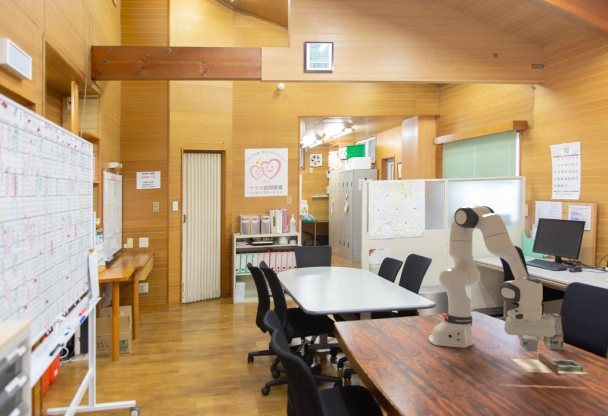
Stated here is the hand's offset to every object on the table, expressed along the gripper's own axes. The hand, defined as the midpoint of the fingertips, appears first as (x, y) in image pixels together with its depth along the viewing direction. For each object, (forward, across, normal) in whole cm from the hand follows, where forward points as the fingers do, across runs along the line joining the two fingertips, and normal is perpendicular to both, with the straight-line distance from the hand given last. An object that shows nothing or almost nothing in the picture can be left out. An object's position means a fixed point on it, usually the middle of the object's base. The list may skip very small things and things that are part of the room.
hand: (528, 345), depth 188 cm
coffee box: (+10, -24, -28) cm, 38 cm away
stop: (+2, 0, 0) cm, 2 cm away
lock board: (+9, -8, +1) cm, 12 cm away
